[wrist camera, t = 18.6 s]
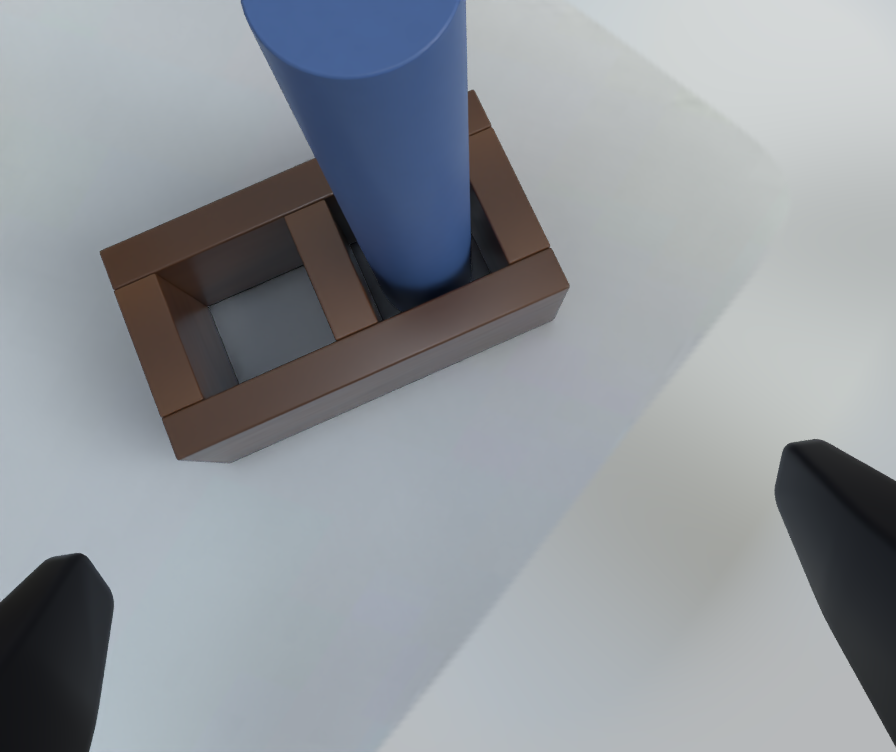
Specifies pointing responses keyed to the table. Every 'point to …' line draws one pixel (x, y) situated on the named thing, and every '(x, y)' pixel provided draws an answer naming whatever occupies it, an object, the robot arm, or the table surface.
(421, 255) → the peg
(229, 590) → the table surface
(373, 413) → the table surface
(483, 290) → the rack
